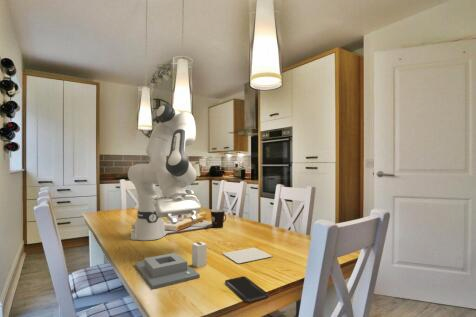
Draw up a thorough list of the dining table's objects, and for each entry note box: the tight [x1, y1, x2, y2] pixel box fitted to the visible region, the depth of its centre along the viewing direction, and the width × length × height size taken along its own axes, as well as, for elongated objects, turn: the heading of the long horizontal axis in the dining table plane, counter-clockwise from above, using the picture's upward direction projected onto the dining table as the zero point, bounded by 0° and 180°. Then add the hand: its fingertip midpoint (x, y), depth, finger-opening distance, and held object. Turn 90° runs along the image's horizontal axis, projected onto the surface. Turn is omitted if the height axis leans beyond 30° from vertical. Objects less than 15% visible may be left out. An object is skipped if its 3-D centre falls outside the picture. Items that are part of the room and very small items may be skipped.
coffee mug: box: [210, 209, 227, 229], centre depth 168 cm, size 12×9×10 cm
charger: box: [191, 241, 208, 268], centre depth 107 cm, size 4×4×8 cm
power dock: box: [134, 252, 200, 290], centre depth 100 cm, size 24×16×4 cm, turn 33°
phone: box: [224, 275, 269, 304], centre depth 86 cm, size 8×1×15 cm
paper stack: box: [222, 246, 273, 264], centre depth 111 cm, size 23×25×1 cm
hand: (184, 221), depth 117 cm, fingers open, 8 cm apart
